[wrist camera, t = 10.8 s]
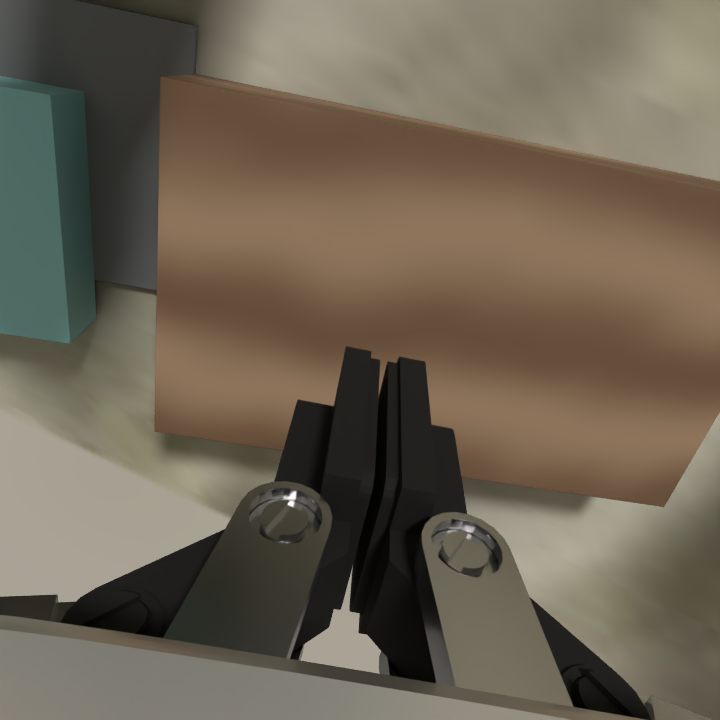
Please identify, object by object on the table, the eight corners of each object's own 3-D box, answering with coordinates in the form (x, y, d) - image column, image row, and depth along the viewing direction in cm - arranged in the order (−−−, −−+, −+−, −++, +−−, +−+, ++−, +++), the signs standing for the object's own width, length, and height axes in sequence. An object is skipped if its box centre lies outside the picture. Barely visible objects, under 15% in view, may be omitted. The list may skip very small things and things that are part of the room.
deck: (195, 74, 20) (160, 77, 17) (759, 189, 22) (835, 214, 18) (182, 381, 26) (154, 431, 23) (625, 450, 28) (663, 507, 25)
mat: (-172, -53, 18) (-180, -55, 18) (197, 26, 19) (195, 25, 19) (-110, 242, 23) (-115, 244, 23) (186, 292, 24) (184, 295, 24)
